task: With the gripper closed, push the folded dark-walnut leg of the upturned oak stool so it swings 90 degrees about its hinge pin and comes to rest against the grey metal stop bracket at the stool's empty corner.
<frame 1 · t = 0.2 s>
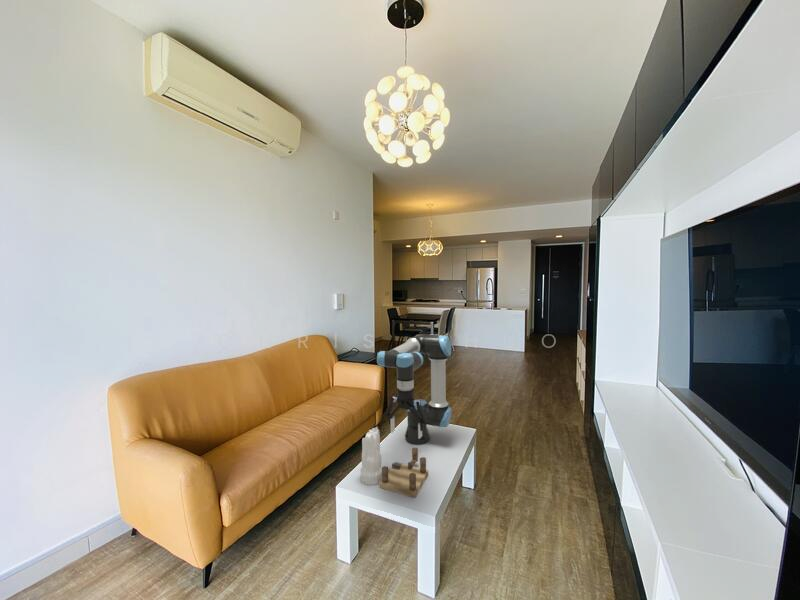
hand: (406, 434, 143), 28 cm above the table, fingers open, 13 cm apart
hinged leg: (412, 457, 162), point 6 cm above the table, hinge at 0.0°
stool seat: (404, 481, 153), on the table
decorative vase: (371, 478, 156), on the table
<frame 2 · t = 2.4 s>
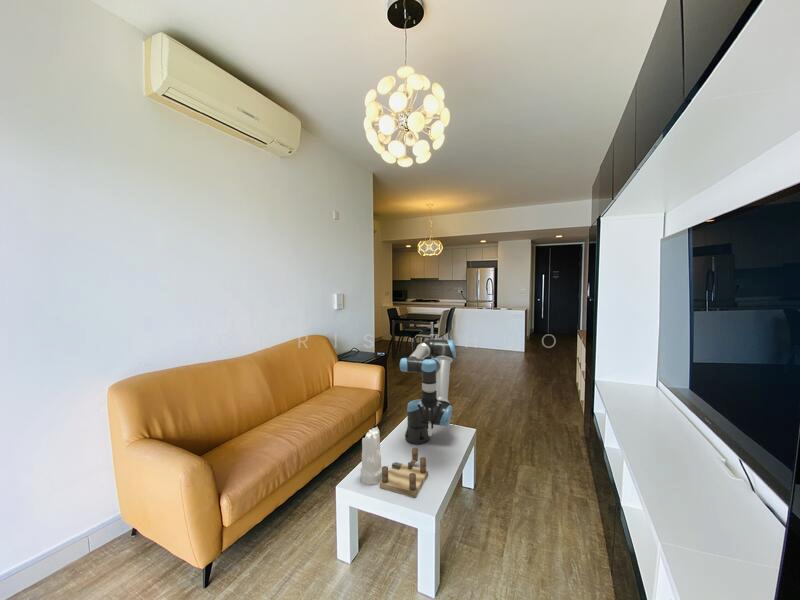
hand: (429, 434, 165), 17 cm above the table, fingers closed
nothing on the table moved.
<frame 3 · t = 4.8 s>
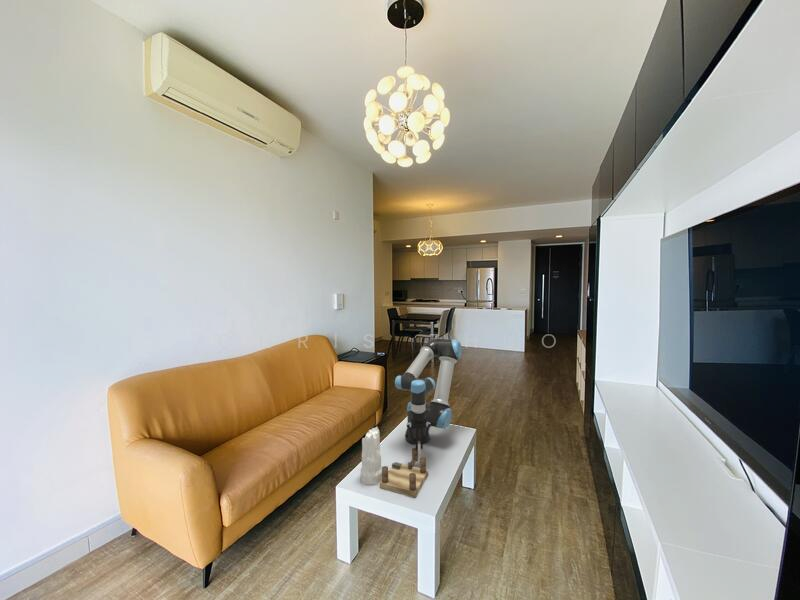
hand: (419, 454, 165), 6 cm above the table, fingers closed
hinged leg: (412, 457, 162), point 6 cm above the table, hinge at 0.0°, touching gripper
everything else where it was.
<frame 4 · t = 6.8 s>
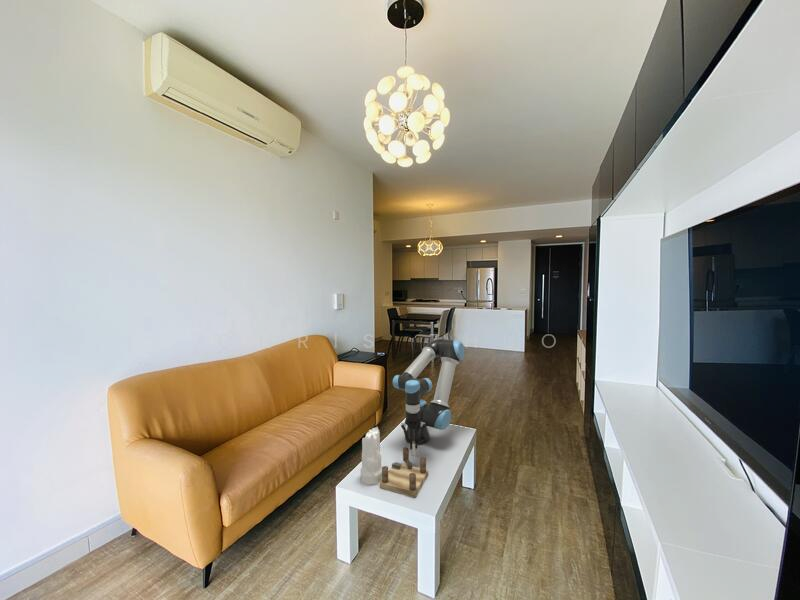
hand: (413, 454, 166), 6 cm above the table, fingers closed
hinged leg: (407, 457, 163), point 6 cm above the table, hinge at 40.1°
everything else where it was.
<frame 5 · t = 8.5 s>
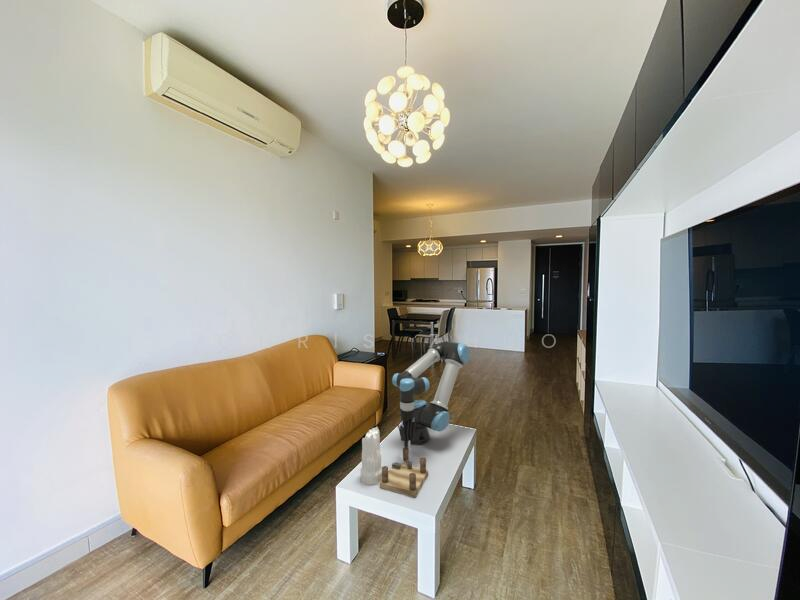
hand: (407, 452, 168), 6 cm above the table, fingers closed
hinged leg: (407, 457, 162), point 6 cm above the table, hinge at 40.5°, touching gripper
everything else where it was.
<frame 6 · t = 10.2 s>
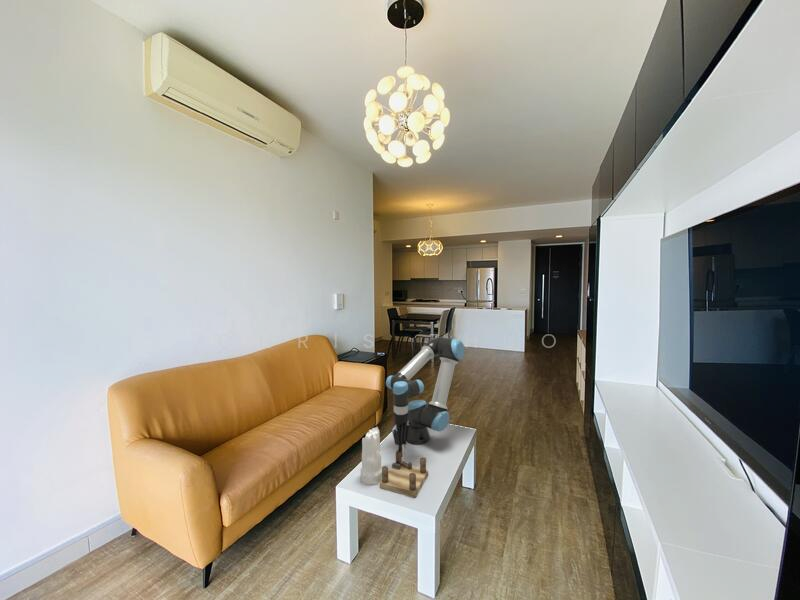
hand: (401, 456, 164), 6 cm above the table, fingers closed
hinged leg: (403, 459, 161), point 6 cm above the table, hinge at 78.0°, touching gripper
everything else where it was.
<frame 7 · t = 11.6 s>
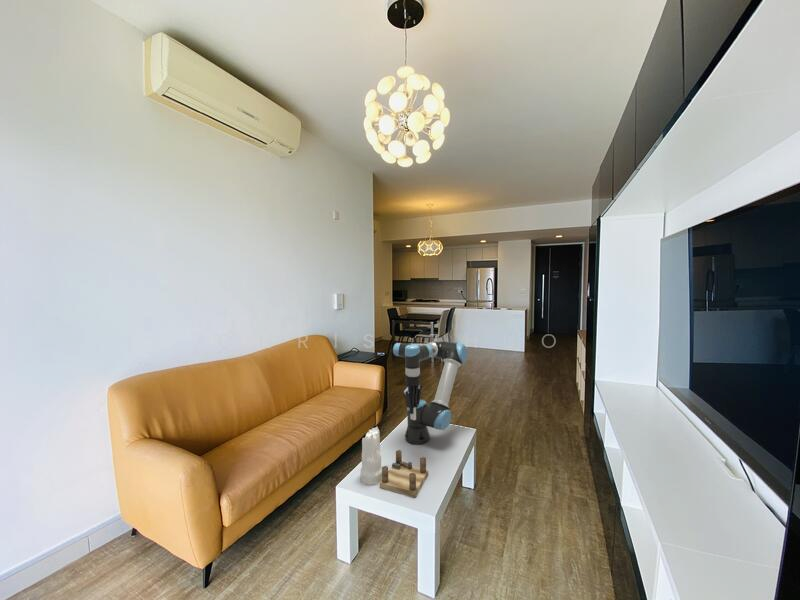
hand: (413, 419, 166), 24 cm above the table, fingers closed
hinged leg: (403, 459, 161), point 6 cm above the table, hinge at 78.1°
everything else where it was.
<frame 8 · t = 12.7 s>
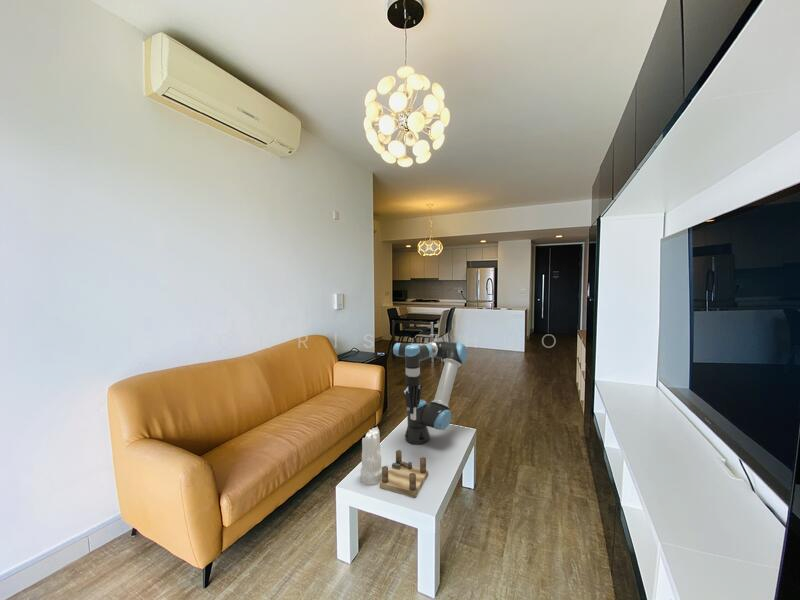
hand: (413, 419, 166), 24 cm above the table, fingers closed
nothing on the table moved.
at the end: hinged leg at +78° (first picture: +0°) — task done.
